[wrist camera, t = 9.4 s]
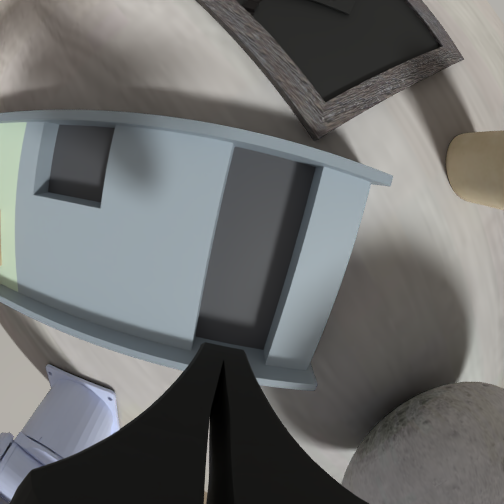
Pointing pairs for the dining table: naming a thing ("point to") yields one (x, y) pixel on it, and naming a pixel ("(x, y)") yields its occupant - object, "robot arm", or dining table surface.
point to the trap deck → (176, 236)
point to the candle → (477, 167)
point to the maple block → (0, 241)
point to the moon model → (435, 450)
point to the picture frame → (337, 51)
